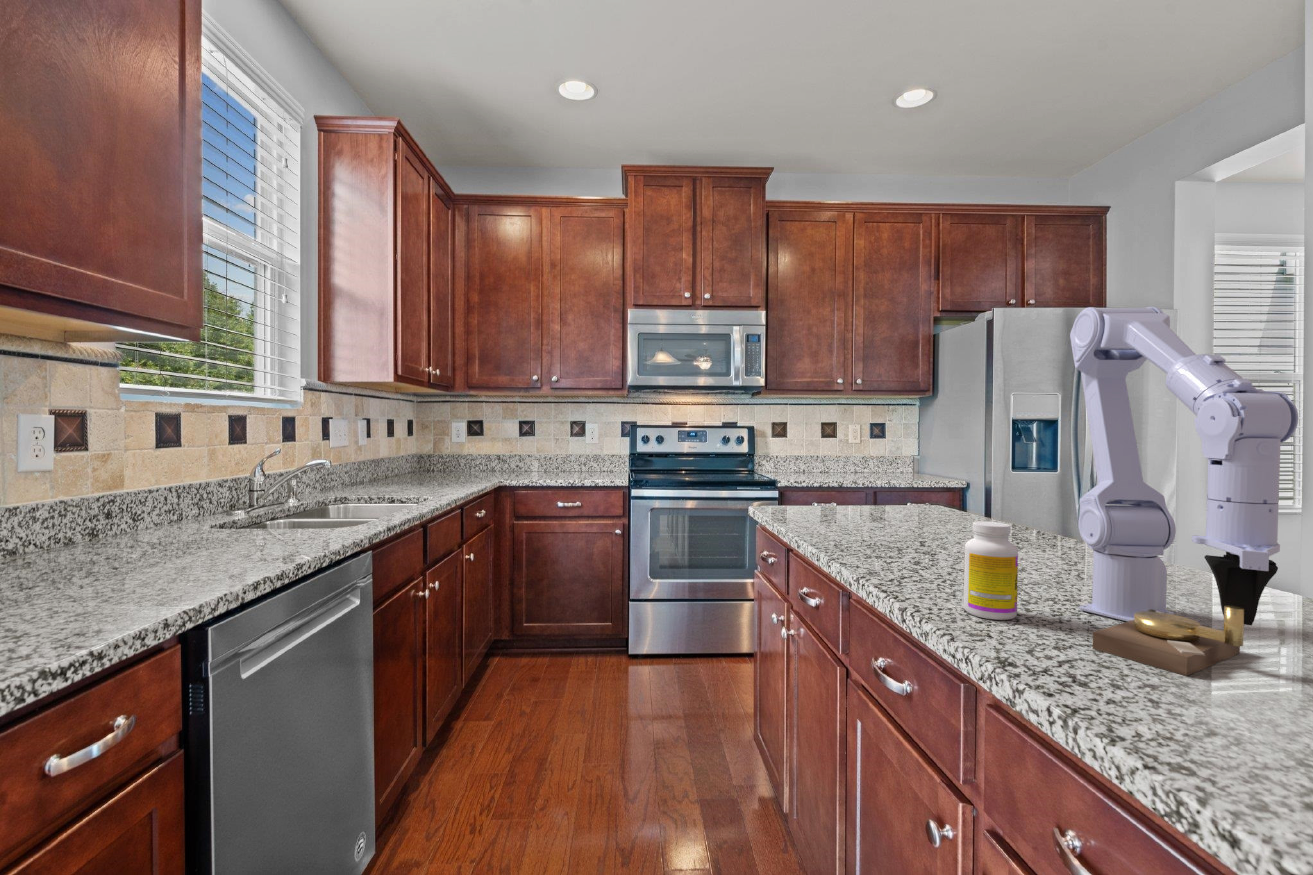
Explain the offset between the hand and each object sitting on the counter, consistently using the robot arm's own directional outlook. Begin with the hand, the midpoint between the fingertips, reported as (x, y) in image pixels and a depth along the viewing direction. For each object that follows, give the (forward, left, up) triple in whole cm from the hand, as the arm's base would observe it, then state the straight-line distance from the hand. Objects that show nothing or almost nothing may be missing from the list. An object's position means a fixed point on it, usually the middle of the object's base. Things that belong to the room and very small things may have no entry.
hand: (1238, 622), depth 67 cm
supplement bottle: (+6, -24, -5) cm, 26 cm away
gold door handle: (+1, -4, -3) cm, 5 cm away
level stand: (+2, -6, -5) cm, 8 cm away
